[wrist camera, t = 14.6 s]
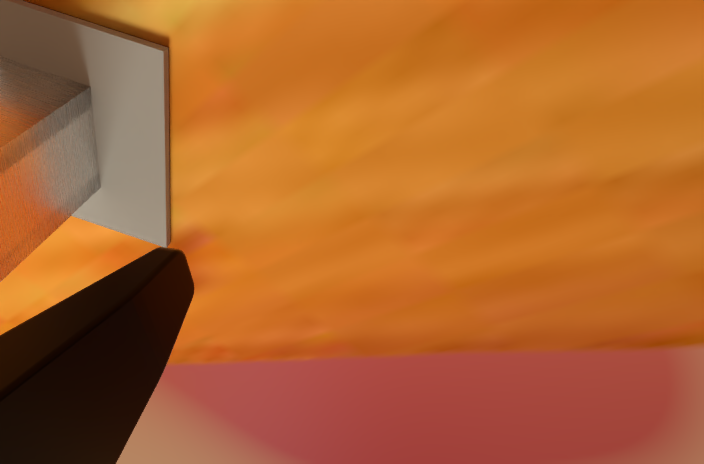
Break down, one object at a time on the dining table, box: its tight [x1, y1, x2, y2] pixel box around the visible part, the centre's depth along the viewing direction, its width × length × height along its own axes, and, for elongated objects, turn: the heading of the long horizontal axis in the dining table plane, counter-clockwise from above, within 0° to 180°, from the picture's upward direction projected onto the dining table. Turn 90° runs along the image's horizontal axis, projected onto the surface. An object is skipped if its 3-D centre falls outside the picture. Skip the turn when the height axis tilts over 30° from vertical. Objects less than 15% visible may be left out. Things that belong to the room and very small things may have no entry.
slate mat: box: [0, 0, 170, 248], centre depth 25 cm, size 11×11×1 cm
